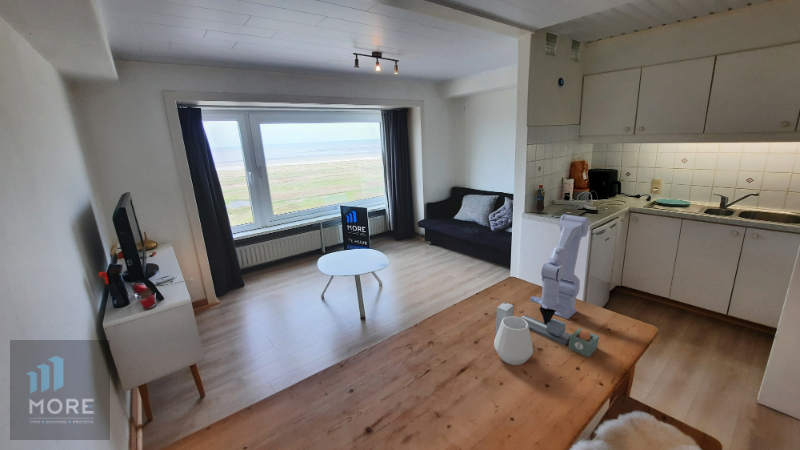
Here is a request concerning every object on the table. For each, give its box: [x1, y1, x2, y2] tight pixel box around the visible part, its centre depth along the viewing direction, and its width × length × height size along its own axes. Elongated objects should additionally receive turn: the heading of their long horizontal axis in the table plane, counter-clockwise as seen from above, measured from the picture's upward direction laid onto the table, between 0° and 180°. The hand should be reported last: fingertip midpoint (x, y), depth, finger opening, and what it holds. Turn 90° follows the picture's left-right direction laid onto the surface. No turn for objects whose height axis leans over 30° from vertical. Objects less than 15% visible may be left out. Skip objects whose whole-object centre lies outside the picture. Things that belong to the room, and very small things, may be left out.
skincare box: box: [495, 301, 514, 335], centre depth 130 cm, size 6×4×12 cm
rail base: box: [520, 315, 572, 347], centre depth 131 cm, size 7×20×2 cm, turn 40°
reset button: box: [579, 329, 591, 342], centre depth 119 cm, size 4×4×4 cm
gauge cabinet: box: [568, 327, 600, 358], centre depth 120 cm, size 8×7×5 cm
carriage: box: [546, 318, 567, 337], centre depth 127 cm, size 5×5×4 cm
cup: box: [493, 315, 534, 366], centre depth 116 cm, size 13×13×14 cm
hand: (546, 323), depth 130 cm, fingers closed
